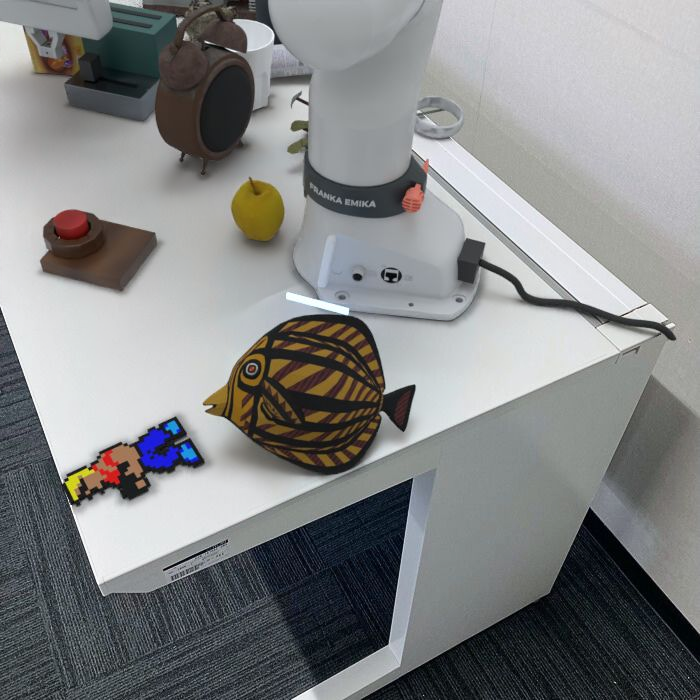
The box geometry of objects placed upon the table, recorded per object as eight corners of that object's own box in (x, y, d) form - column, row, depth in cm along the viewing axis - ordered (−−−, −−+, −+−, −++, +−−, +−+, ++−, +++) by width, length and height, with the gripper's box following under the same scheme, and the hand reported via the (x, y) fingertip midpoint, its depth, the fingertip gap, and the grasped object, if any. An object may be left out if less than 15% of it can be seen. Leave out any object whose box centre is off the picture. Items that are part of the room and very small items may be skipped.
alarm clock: (203, 191, 101) (187, 43, 86) (159, 173, 103) (136, 25, 88) (266, 140, 109) (261, -2, 95) (224, 124, 112) (213, -17, 97)
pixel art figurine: (176, 418, 75) (56, 474, 70) (176, 416, 75) (55, 472, 70) (204, 462, 72) (80, 524, 67) (204, 460, 72) (79, 522, 67)
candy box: (98, 64, 122) (78, -37, 110) (90, 77, 119) (68, -25, 108) (42, 59, 122) (16, -42, 111) (33, 73, 119) (5, -30, 108)
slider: (103, 73, 113) (99, 53, 110) (94, 81, 111) (90, 62, 109) (91, 71, 113) (86, 51, 111) (81, 79, 111) (77, 59, 109)
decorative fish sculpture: (322, 523, 68) (246, 492, 76) (425, 404, 76) (346, 388, 84) (248, 406, 61) (173, 386, 70) (369, 288, 69) (289, 283, 77)
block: (157, 243, 93) (153, 220, 91) (121, 291, 87) (116, 268, 85) (73, 223, 95) (67, 200, 92) (33, 269, 89) (25, 245, 86)
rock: (216, -15, 132) (167, -3, 126) (250, 2, 127) (200, 16, 122) (217, 18, 135) (170, 31, 130) (250, 35, 131) (203, 50, 126)
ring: (403, 117, 111) (401, 129, 112) (457, 134, 110) (454, 145, 111) (420, 88, 115) (417, 99, 117) (471, 104, 114) (468, 115, 116)
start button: (95, 225, 90) (92, 213, 89) (79, 243, 88) (75, 231, 86) (67, 218, 91) (64, 206, 89) (50, 236, 88) (47, 224, 87)
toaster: (183, 78, 120) (175, 13, 113) (143, 121, 111) (132, 54, 104) (113, 64, 122) (101, -1, 115) (68, 105, 113) (52, 38, 106)
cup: (278, 84, 120) (277, 21, 112) (272, 118, 113) (270, 53, 106) (213, 80, 120) (208, 17, 112) (204, 114, 113) (197, 49, 106)
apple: (240, 216, 97) (236, 162, 91) (290, 223, 97) (289, 169, 91) (227, 249, 93) (222, 194, 87) (279, 256, 93) (278, 202, 87)
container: (322, 34, 120) (226, 43, 119) (326, 49, 117) (227, 59, 116) (324, 62, 123) (230, 71, 122) (327, 78, 120) (231, 87, 119)
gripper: (-58, -49, 101) (-25, 52, 111) (83, -23, 97) (104, 79, 108) (-28, -66, 105) (0, 34, 115) (108, -41, 102) (125, 58, 112)
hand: (51, 56), depth 111 cm, fingers closed
